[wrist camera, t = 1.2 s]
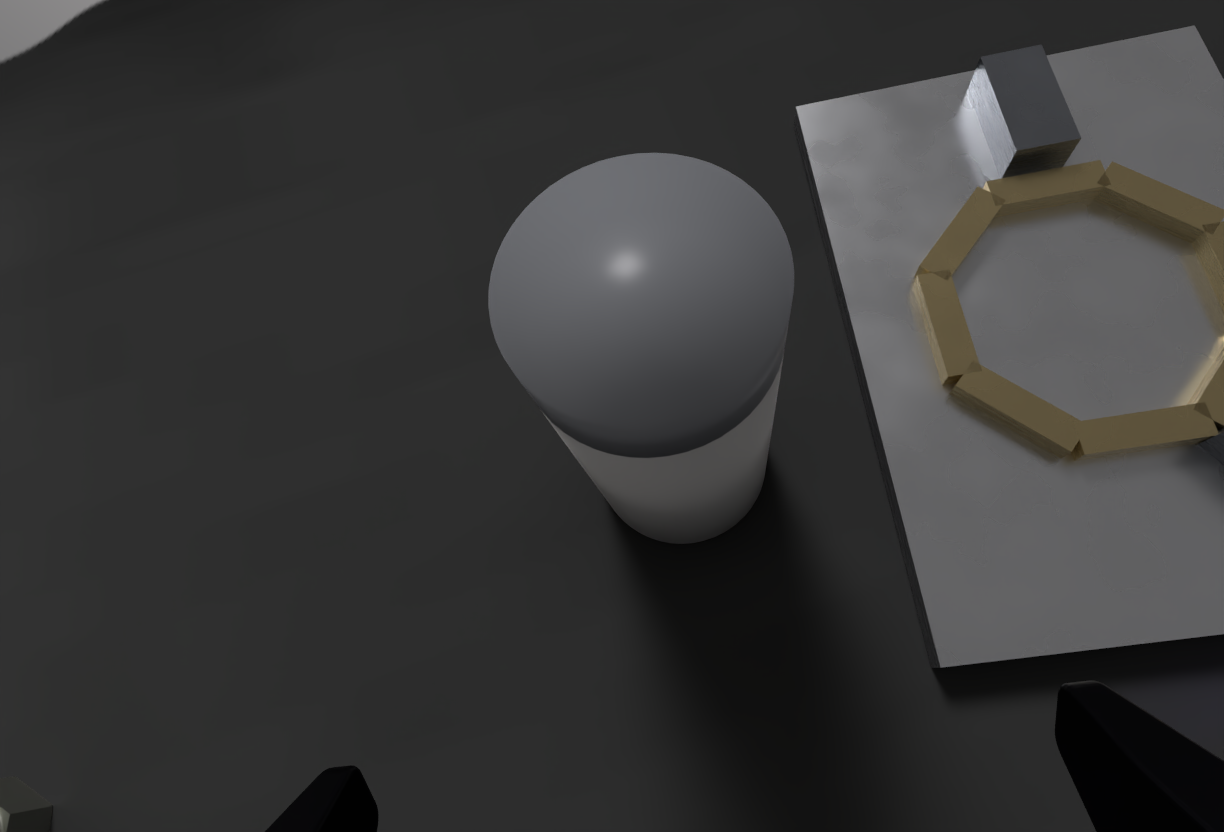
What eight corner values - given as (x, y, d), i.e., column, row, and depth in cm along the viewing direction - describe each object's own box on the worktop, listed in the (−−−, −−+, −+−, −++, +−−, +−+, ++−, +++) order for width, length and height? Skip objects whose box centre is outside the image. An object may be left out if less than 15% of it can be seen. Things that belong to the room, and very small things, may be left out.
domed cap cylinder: (780, 530, 23) (825, 396, 12) (608, 555, 24) (496, 448, 13) (749, 371, 25) (762, 126, 14) (590, 397, 26) (480, 183, 14)
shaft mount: (1464, 604, 20) (1562, 595, 17) (931, 667, 21) (956, 667, 19) (1178, 48, 27) (1221, -12, 24) (793, 125, 28) (799, 76, 26)
